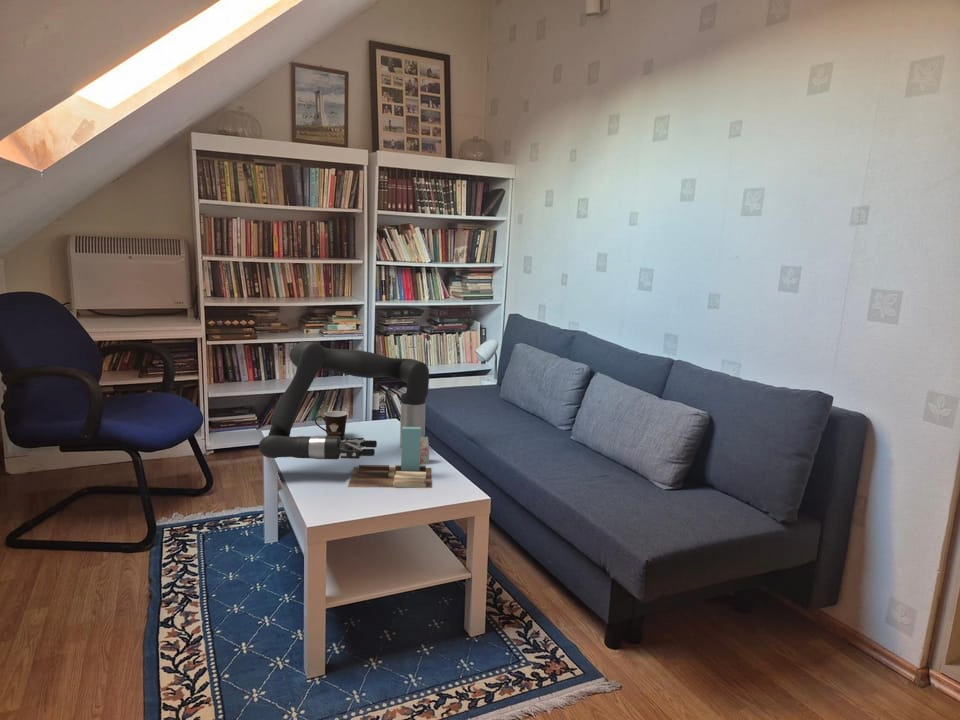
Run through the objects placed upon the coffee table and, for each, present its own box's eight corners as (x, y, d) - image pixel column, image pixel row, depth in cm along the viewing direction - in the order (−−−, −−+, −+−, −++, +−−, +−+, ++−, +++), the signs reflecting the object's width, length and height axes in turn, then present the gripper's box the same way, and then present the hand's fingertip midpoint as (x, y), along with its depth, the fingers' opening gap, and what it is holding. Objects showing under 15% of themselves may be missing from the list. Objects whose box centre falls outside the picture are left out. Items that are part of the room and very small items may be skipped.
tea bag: (406, 464, 220) (407, 437, 218) (425, 462, 223) (425, 435, 221) (410, 468, 216) (410, 440, 215) (428, 466, 219) (429, 438, 218)
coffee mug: (351, 437, 247) (351, 412, 246) (338, 443, 240) (338, 417, 238) (327, 432, 252) (327, 408, 250) (313, 438, 244) (313, 413, 242)
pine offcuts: (394, 480, 202) (394, 471, 202) (426, 480, 203) (426, 471, 202) (393, 487, 196) (393, 478, 195) (426, 487, 197) (426, 478, 196)
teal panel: (401, 473, 208) (402, 426, 205) (419, 473, 209) (420, 426, 206) (400, 476, 206) (402, 428, 203) (419, 476, 206) (420, 429, 204)
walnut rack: (354, 469, 213) (354, 461, 212) (431, 470, 215) (431, 462, 214) (347, 490, 195) (347, 480, 194) (431, 490, 197) (432, 481, 197)
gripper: (321, 443, 196) (374, 443, 197) (328, 429, 209) (377, 430, 211) (321, 466, 197) (373, 466, 198) (328, 451, 211) (377, 452, 212)
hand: (375, 448), depth 205 cm, fingers open, 8 cm apart
